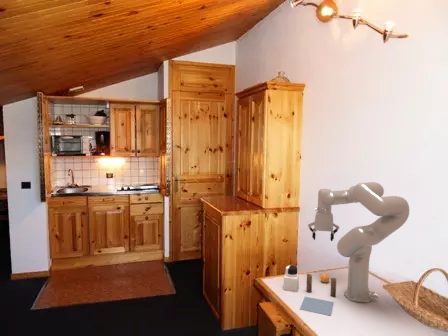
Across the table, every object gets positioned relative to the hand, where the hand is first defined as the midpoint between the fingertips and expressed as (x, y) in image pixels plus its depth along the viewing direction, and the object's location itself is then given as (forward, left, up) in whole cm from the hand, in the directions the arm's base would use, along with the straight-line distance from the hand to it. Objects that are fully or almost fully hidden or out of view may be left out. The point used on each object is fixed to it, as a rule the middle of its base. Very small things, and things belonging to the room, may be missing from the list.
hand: (322, 239), depth 186 cm
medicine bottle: (+13, +21, -23) cm, 34 cm away
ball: (-2, +5, -20) cm, 21 cm away
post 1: (+4, +21, -23) cm, 31 cm away
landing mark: (-2, +35, -23) cm, 42 cm away
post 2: (-8, +21, -23) cm, 32 cm away
